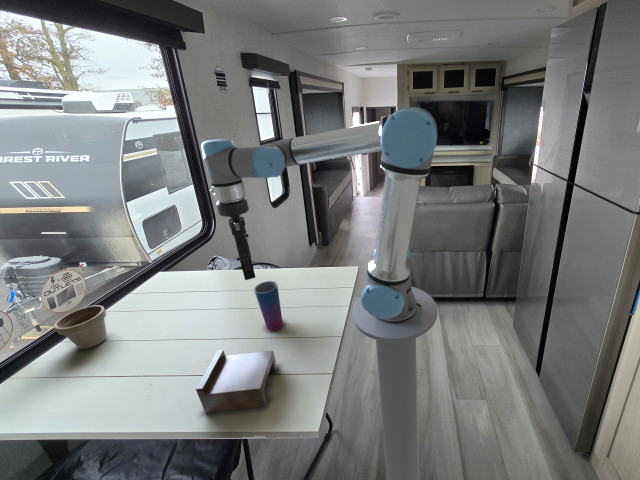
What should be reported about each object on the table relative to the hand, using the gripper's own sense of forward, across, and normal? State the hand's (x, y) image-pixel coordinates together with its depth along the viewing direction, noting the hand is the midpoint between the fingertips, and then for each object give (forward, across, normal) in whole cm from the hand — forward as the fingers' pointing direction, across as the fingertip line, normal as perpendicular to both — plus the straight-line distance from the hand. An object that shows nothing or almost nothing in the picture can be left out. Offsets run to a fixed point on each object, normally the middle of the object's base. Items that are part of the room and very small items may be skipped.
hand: (248, 267), depth 91 cm
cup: (+23, 0, +3) cm, 23 cm away
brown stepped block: (+23, +21, -7) cm, 32 cm away
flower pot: (+23, -22, -49) cm, 59 cm away
